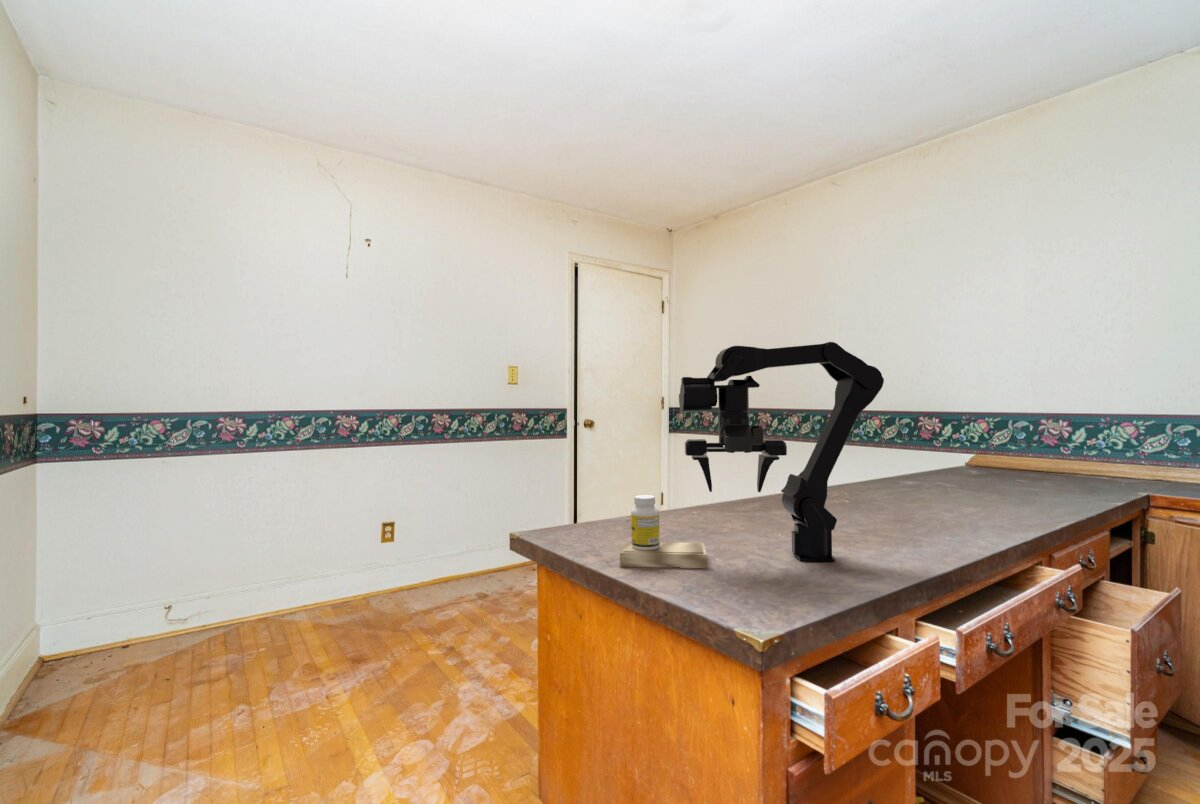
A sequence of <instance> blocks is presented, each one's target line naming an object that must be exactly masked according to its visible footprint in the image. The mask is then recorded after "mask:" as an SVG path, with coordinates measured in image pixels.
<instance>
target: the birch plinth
mask: <svg viewBox="0 0 1200 804" xmlns="http://www.w3.org/2000/svg"><path fill="white" fill-rule="evenodd" d="M619 565H620V567H629V568H630V567H631V568H632V567H634V568H672V567H680V569H681V568H683V569H707V568H708V555H707V551H706V547H705V543H704V542H671V541H670V542H664V541H663V542H662V541H660V546H659V548H657V549H655V550H637V549H635V548H633V547H632V541H623V542H622V545H621V548H620V552H619Z"/></svg>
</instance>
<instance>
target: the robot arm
mask: <svg viewBox="0 0 1200 804" xmlns="http://www.w3.org/2000/svg"><path fill="white" fill-rule="evenodd" d="M714 364H715V366H714V367H713V368H712V370H711V371H710V373H708V375H707V377H692V376H684V377H683V376H682V377H681V379H680V380H681V382H680V383H681V384H680V387H679V393H678V404H679V410H680V412H681V413H701V412H703V413H707V412H709V413H710V412H711V411H712V410H713V408H714V407H717V404H718V442H707V440H706V439H700V438H698V439H693V438H692V439H688V438H687V440H686V441H685V442H684V454H685V456H689V457H691V459H692V460H693V461H698V463H699V466H700V467H701V470H702V473H703V475H704V478H705V482H706V484H707V488H708V490H709V491H708V492H710V493H712V492H713V485H712V476H711V475H712V474H711V469H710V459H709V457H708V455H707V454H708V453H728V454H734V453H745V454H748V453H749V454H750V453H760V454H758V460H757V461H758V462H757V477H756V478H757V479H756V480H757V481H756V486H757V489H756V490H757V492H758V493H761V492H762V489H763V486H764V482H765V480H766V477H767V474H768V471H769V469H771V468H770V467H771V466H772V464H773V463H774V462H775V461H779V460H780V457H781V456H787V455H788V451H787V450H788V449H787V448H788V447H787V443H786V442H785V441H784V440H782V439H780V438H764V428H763V425H751V426H750V413H749V412H750V408H749V405H750V403H749V396H750V395H749V389H751V388H752V389H755V388H759V387H760V386H761V385H760V383H759V382H758V381H757V380H755V379H754V378H753V376H752V375H748V374H750V373H754V372H757V371H761V370H764V369H769V368H771V369H772V368H779V367H780V368H781V367H791V366H803V365H812V364H813V365H816V364H819V365H820V366H821V367H823V369H824V370H825V371H826V373H827V374H828V375H829V377H830V378H832V379H833V380H834V381H835V382H836V383H837V384H836V386H835V391H834V406H833V408H832V410H831V413H830V415H829V416H828V419H827V421H826V424H825V425H824V427H823V429H822V432H821V434H820V436H819V437H818V440H817V442H816V444H815V446H814V448H813V450H812V452H811V454H810V457H809V459H808V461H807V463H806V465H805V467H804V468H803V470H802V471H800V473H799V474H797V475H795V474H793V473H789V476H788V477H787V481H786V484H785V486H784V487H783V488H781V490H780V492H781V493H782V497H781V503H782V506H783V508H784V509H785V510H786V511H787V513H790V516H791V518H792V521H793V522H794V525H793V526H794V528H793V529H794V530H791V552H792V553H793V554H794V555H795V557H796V558H798V560H799V561H803V562H805V561H807V562H835V561H836V558H835V557H834V556H833V538H832V537H833V532H832V531H834V530H835V527H836V524H837V522H838V519H837V518H836V516H835V515H833V514H832V513H831V512H830V511H829V510H828V509H827V508H825V505H826V502H827V498H828V483H829V477H830V476H831V473H832V471H833V470H834V468H835V465H836V463H837V461H838V459H839V456H840V455H841V453H842V451H843V448H844V446H845V444H846V442H847V440H848V438H849V436H850V434H851V432H852V429H853V427H854V426H855V423H856V421H857V419H858V417H859V415H860V414H861V412H863V411H864V410H865V409H866V408H867V407H868V406H869V405H870V404H871V403H873V401H874V400H875V398H876V397H877V395H878V394H879V393H880V391H881V390H882V388H883V385H884V383H885V382H884V381H885V378H884V376H883V375H882V372H881V371H880V370H879V368H877V367H876V366H872V365H869V364H868V363H866V362H865V361H863V359H861V358H859V357H858V356H856V355H854V354H852V353H850V352H849V351H847V350H845V349H844V348H843V347H842V346H841V345H839V344H838V343H837V342H834V341H828V342H823V343H818V344H817V343H816V344H807V345H806V344H805V345H797V346H795V345H794V346H786V347H775V348H762V347H756V346H745V345H731V346H729V347H727V348H724V349H722V350H721V351H719V353H718V354H717V356H716V357H715V363H714ZM746 374H747V375H746ZM743 375H746V377H745V378H743V379H729V378H733V377H738V376H743ZM727 380H728V382H727V384H724V385H723V384H719V385H718V384H717V385H716V384H715V383H719V382H725V381H727Z"/></svg>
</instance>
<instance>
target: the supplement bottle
mask: <svg viewBox="0 0 1200 804" xmlns="http://www.w3.org/2000/svg"><path fill="white" fill-rule="evenodd" d="M655 504H656V497H655V495H651V494H638V495H635V496H634V505H635V506H634V507H633V508H632V509H631V512H630V513H631V514H630V515H631V516H630V517H631V518H630V519H631V520H630V521H631V526H630V527H631V542H632V547H633V548H635V549H637V550H655V549H657V548H659V546H660V542H661V539H660V538H661V537H660V536H661V535H660V533H661V532H660V530H661V529H660V511H659V509H658V508H657V507H656V506H655Z"/></svg>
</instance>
